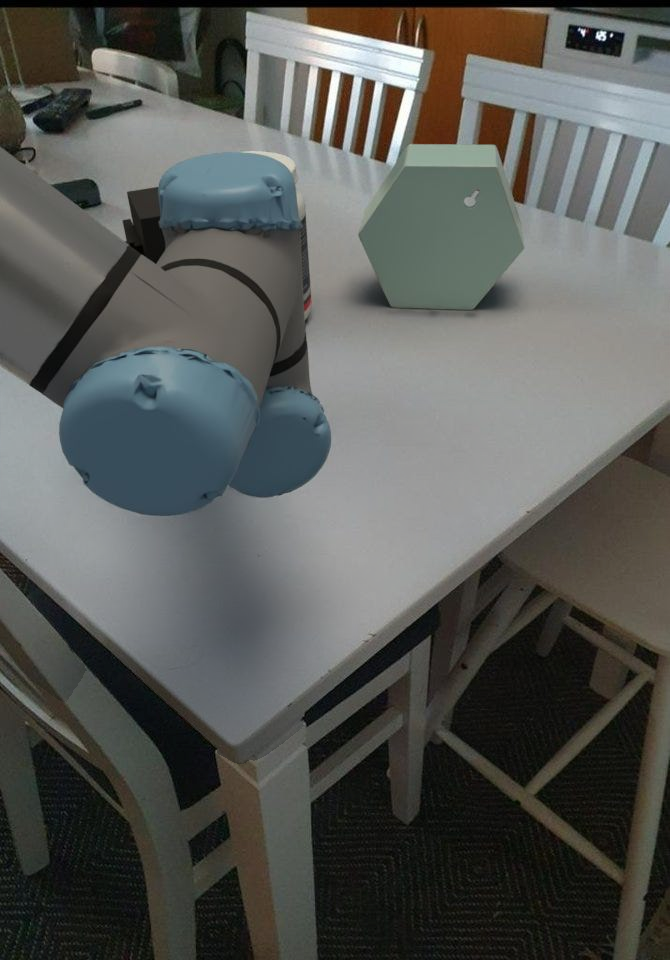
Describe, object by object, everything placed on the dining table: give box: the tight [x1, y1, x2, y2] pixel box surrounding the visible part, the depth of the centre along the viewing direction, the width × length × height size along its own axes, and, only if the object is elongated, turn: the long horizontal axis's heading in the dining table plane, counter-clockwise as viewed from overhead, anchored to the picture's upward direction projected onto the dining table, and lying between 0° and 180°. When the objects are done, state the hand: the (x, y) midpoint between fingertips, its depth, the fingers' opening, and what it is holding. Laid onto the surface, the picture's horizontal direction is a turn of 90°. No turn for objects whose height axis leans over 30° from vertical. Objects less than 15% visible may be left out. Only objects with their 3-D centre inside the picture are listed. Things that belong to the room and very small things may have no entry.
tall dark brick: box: [126, 186, 165, 264], centre depth 74 cm, size 5×7×11 cm
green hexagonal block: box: [357, 143, 525, 311], centre depth 98 cm, size 17×8×21 cm, turn 81°
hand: (159, 228), depth 77 cm, fingers closed on tall dark brick, 5 cm apart
